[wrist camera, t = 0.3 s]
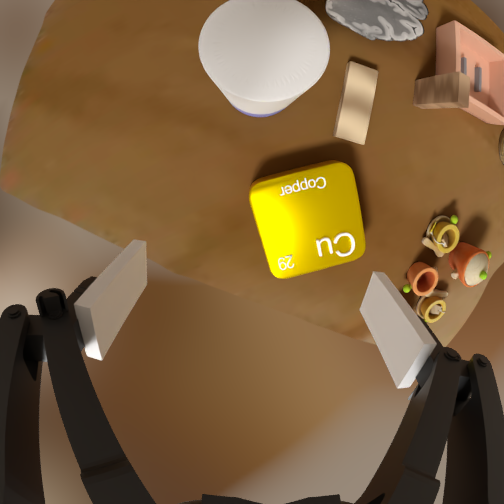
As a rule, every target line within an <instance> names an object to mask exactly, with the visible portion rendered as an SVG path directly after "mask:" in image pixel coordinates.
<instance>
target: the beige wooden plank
mask: <svg viewBox="0 0 504 504" xmlns="http://www.w3.org/2000/svg"><path fill="white" fill-rule="evenodd" d="M377 77H378V71H376V70H374V69H371V68H369V67H366V66H363V65H360V64H358V63H355V62H352V61H350V62H348V63H347V67H346V73H345V78H344V83H343V88H342V94H341V99H340V104H339V109H338V113H337V118H336V123H335V127H334V132H333V136H335V137H338V138H342V139H345V140H348V141H352V142H355V143H358V144H362V145H364V143H365V138H366V134H367V129H368V124H369V120H370V115H371V110H372V105H373V100H374V94H375V89H376V83H377Z"/></svg>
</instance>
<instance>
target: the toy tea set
mask: <svg viewBox="0 0 504 504" xmlns="http://www.w3.org/2000/svg"><path fill="white" fill-rule="evenodd" d="M457 222H458V217H457V216H456V215H452V216H451V218H448V217H447V216H438V217H436V218H435V219H434V220H433V221H432V222H431V223H430V225H429V227H428V229H427V233H426V237H424V238H423V239H422V243H423V244H424V245H426V246H427V247H429V248H431V249H432V250H434V252H435V254H436V256H438V257H442V256H443V255H444V253H448V252H450V251H451V252H450V254H449V265H450V266H451V268H452V269H453V272H452V273H451V276H452V278H453V279H456V278H457V277H459V279H460V280H461V281H462V283H463V284H464V285H465V286H467V287H474V286H476V285H478V284H479V283H480V282H481V281H482V280H484V279H486V278H487V271H488V268H489V259H490V258H491V256H492V255H491V252H489V251H487V252H485V251H484V250H481V249H479V248H477V247H474V246H472V245H470V244H467V243H465V242H460V243H458V240H459V230H458V228H457V226H455V225H454V224H456V223H457ZM437 271H438V269H437V267H433V268H432V267H430V266H429V265H427V264H425V263H423V262H416V263H414V264H413V265H412V266H411V267H410V268H409V270H408V272H407V279H408V281H409V283H410V285H409V284H406V285H404V286H403V291H404V292H405V293H408V292H409V291H410V290H411V289H413V291H414V293H415V294H417V295H419V296H421V298H420V299H419V301H418V303H417V308H416V309H417V313H418V314H419V316H421V317H424V319H423V320H424V321H425V322H426V323H427V322H429V323H432V322H435V321H437V320H438V319H440V318H441V317H442V315H443V314H444V313H445V309H446V303H445V302H444V301H443V297H446V296H447V295H448V293H447V291H440V290H438V289H434V288H435V286H436V284H437V282H438V273H437Z"/></svg>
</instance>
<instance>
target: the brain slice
mask: <svg viewBox="0 0 504 504" xmlns="http://www.w3.org/2000/svg"><path fill="white" fill-rule="evenodd" d="M325 7H326V13H327V14H328V15H329V17H331V18H332V19H333V20H335V21H337V22H338V23H339V24H341V25H343V26H345V27H347V28H350V29H352V30H353V31H355V32H357V33H358V34H360V35H362V36H363V37H366V38H368V39H369V40H375V39H379V40H385V41H393V40H395V41H406V40H414V39H416V38H417V37H418V36H422V35H423V33H424V28H423V25H422V23H421V22H420V21H419V20H418V19H421V20H425V19H426V18H427V15H428V13H429V12H428V9H427V7H426V5H425V4H424V3H423V0H327V1H326V5H325Z"/></svg>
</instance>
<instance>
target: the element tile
mask: <svg viewBox="0 0 504 504" xmlns="http://www.w3.org/2000/svg"><path fill="white" fill-rule="evenodd" d="M249 202H250V205H251V209H252V212H253V215H254V218H255V222H256V225H257V228H258V232H259V235H260V238H261V241H262V245H263V248H264V251H265V255H266V258H267V261H268V265H269V268H270V271H271V273H272V274H273V275H274V276H275V277H277V278H281V279H286V278H291V277H295V276H298V275H302V274H306V273H310V272H313V271H317V270H321V269H324V268H328V267H332V266H335V265H339V264H343V263H346V262H350V261H353V260H356V259H358V258H359V257H361V256H362V255H363V253H364V252H365V248H366V243H365V235H364V228H363V222H362V216H361V209H360V204H359V198H358V192H357V187H356V182H355V177H354V173H353V171H352V169H351V168H350V166H349V165H347V164H346V163H343V162H340V161H336V160H328V161H324V162H320V163H316V164H312V165H308V166H304V167H300V168H296V169H292V170H288V171H284V172H280V173H276V174H273V175H269V176H265V177H262V178H259V179H257V180H255V181H254V182H253V183H252V184H251V186H250V190H249Z"/></svg>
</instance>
